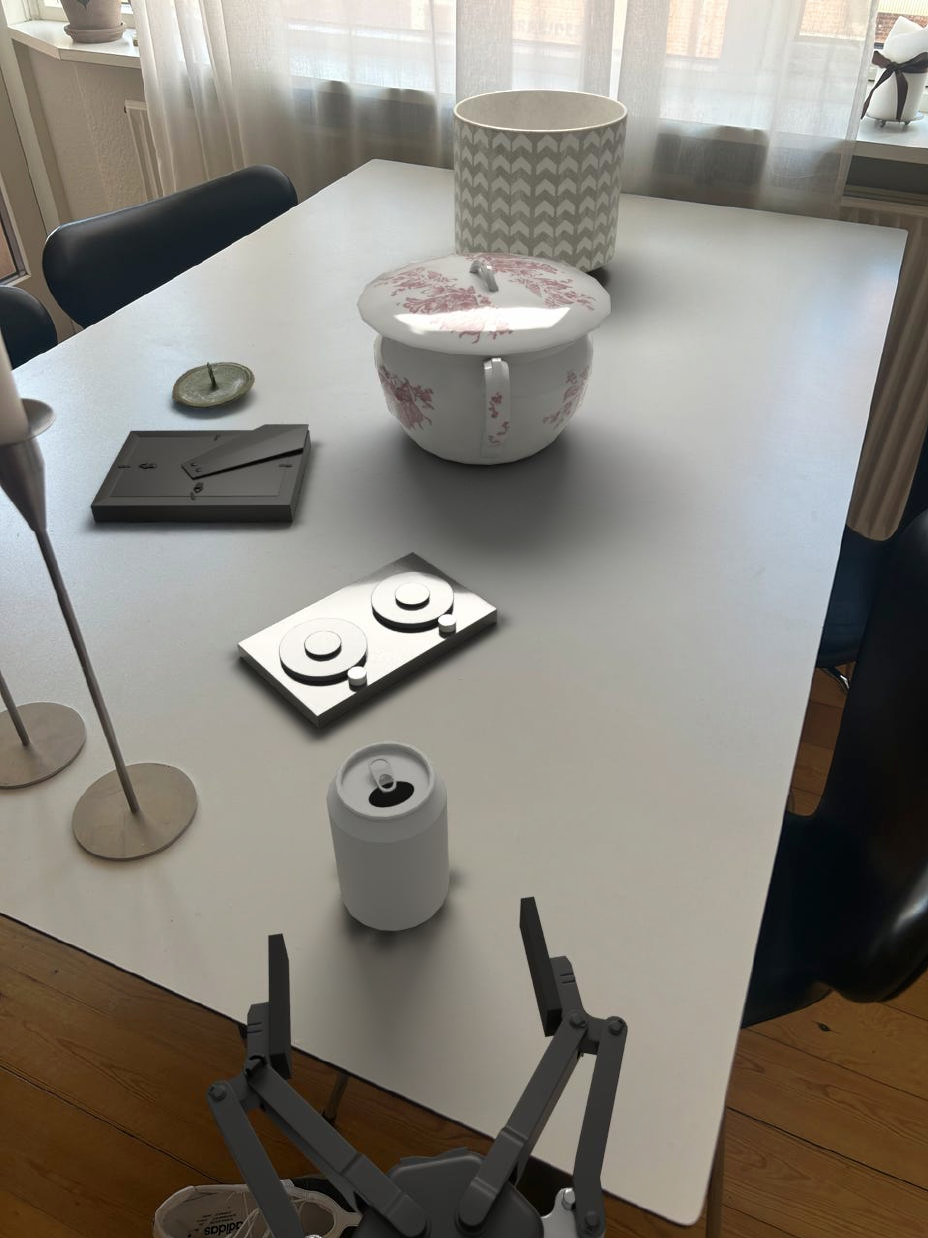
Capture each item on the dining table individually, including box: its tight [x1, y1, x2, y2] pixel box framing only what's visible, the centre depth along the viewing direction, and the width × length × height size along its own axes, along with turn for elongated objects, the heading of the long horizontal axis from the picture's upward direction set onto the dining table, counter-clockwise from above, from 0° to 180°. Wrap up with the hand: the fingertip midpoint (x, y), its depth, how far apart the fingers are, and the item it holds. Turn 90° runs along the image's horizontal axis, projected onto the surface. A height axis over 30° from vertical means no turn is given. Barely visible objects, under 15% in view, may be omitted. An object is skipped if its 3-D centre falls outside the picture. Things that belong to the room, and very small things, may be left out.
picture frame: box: [89, 423, 312, 523], centre depth 106 cm, size 16×3×21 cm
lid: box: [171, 361, 256, 409], centre depth 122 cm, size 11×10×5 cm
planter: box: [452, 88, 629, 273], centre depth 146 cm, size 25×25×24 cm
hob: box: [236, 551, 498, 730], centre depth 86 cm, size 12×20×2 cm, turn 132°
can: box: [325, 740, 450, 932], centre depth 63 cm, size 8×8×12 cm
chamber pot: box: [356, 253, 612, 466], centre depth 108 cm, size 28×28×21 cm
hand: (404, 928), depth 53 cm, fingers open, 13 cm apart
